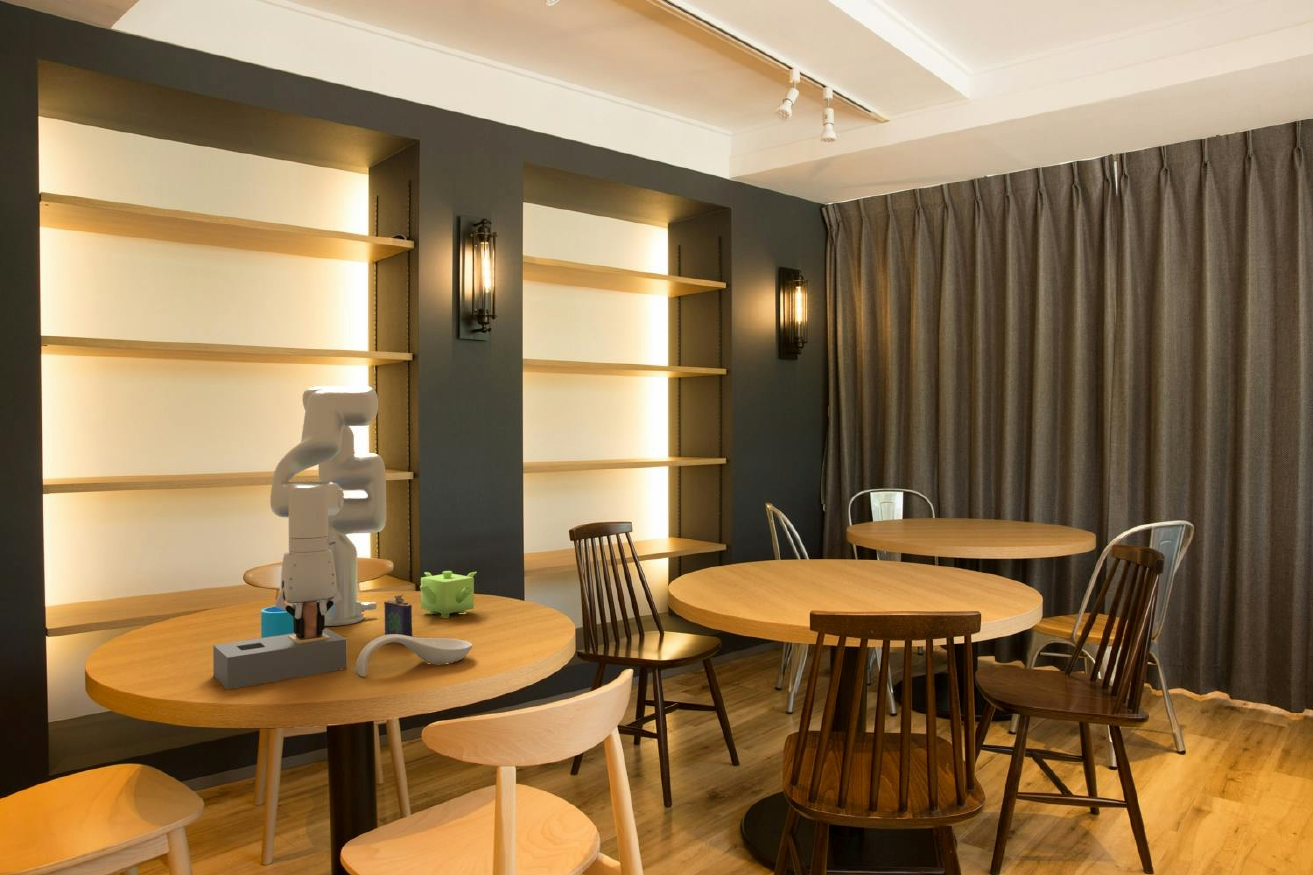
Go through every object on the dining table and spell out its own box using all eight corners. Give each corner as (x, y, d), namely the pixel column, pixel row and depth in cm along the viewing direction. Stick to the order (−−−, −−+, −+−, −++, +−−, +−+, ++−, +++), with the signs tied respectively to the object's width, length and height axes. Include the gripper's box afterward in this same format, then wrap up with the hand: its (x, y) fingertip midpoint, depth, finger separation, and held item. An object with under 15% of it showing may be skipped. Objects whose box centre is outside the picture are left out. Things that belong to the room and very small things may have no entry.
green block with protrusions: (424, 608, 231) (424, 567, 231) (477, 607, 233) (477, 566, 233) (414, 620, 216) (414, 576, 216) (471, 619, 218) (471, 575, 218)
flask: (382, 639, 197) (382, 593, 197) (393, 637, 199) (393, 591, 199) (405, 646, 191) (405, 598, 191) (416, 643, 193) (416, 596, 193)
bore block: (327, 656, 182) (327, 627, 182) (346, 668, 172) (346, 637, 172) (213, 675, 168) (213, 643, 168) (227, 689, 159) (227, 655, 159)
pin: (314, 647, 176) (314, 599, 176) (319, 650, 173) (319, 601, 173) (299, 649, 174) (299, 601, 174) (304, 652, 172) (303, 603, 171)
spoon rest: (457, 651, 187) (457, 619, 187) (481, 663, 178) (481, 628, 178) (348, 670, 172) (348, 635, 172) (368, 684, 163) (368, 646, 163)
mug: (270, 651, 186) (270, 614, 186) (255, 645, 192) (254, 609, 192) (323, 641, 195) (323, 606, 195) (307, 636, 200) (307, 601, 200)
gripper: (343, 540, 182) (343, 626, 182) (261, 546, 171) (261, 638, 172) (355, 543, 176) (355, 632, 176) (271, 551, 165) (271, 645, 166)
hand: (309, 634), depth 174 cm, fingers closed on pin, 3 cm apart
